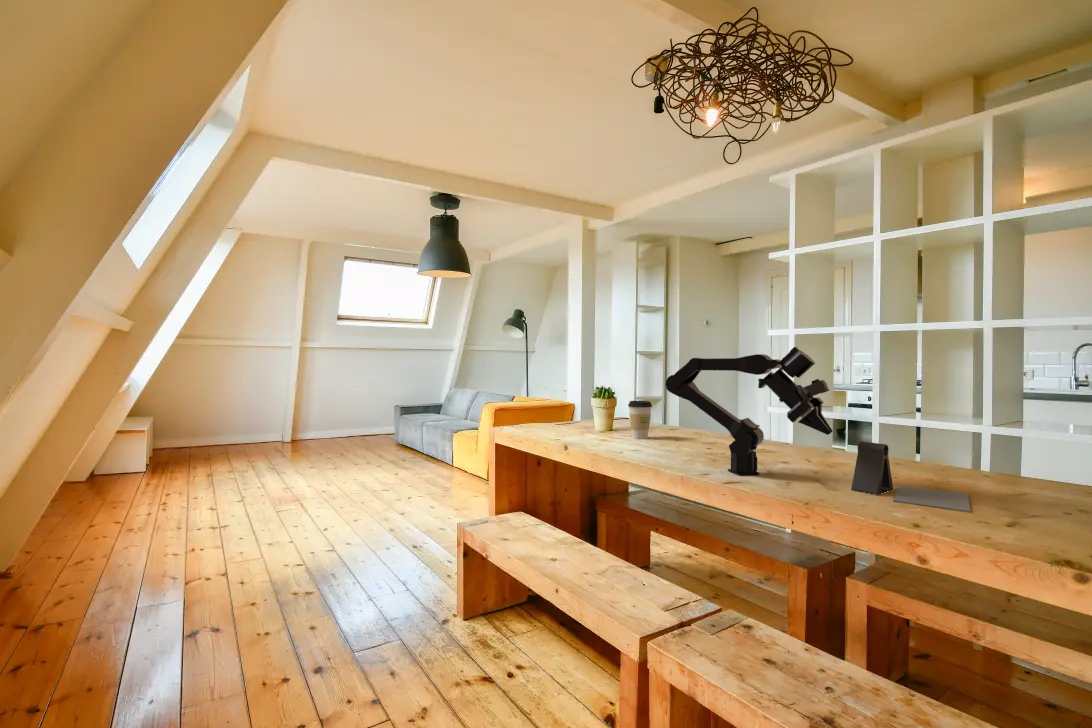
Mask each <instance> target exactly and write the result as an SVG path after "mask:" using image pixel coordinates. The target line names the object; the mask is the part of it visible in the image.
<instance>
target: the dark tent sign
mask: <svg viewBox="0 0 1092 728" xmlns="http://www.w3.org/2000/svg"><path fill="white" fill-rule="evenodd" d="M889 451H890V450H889V445H888V444H887V443H885V444H884V443H878V442H871V441H869V442H868V441H859V442H858V443H857V456H856V462H855V468H854V473H853V478H852V483H851V491H853V490H854V492H858V491H859V493H863V492H865V493H864V494H868V493H870V494H869V495H873V494H876V495H875V496H879V495H878V494H880V495H882V494H881V493H884V492H887V491H890V492H892V491H891V490H893V491H894V484H893V479H892V477H893V476H892V471H891V464H890V459H889ZM887 493H888V492H887ZM884 494H885V493H884Z"/></svg>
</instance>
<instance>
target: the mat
mask: <svg viewBox="0 0 1092 728" xmlns="http://www.w3.org/2000/svg"><path fill="white" fill-rule="evenodd" d="M893 502H895V503H902V504H908V503H909V505H915V506H917V505H918V506H923V507H930V508H938V509H944V510H950V511H958V512H965V513H966V512H967V513H971V506H970V500H969V494H968V493H963V492H956V491H947V490H941V489H940V490H939V489H932V488H926V487H925V488H924V487H917V486H908V485H899V484H898V487H897V490H896V492H895V494H894V498H893Z"/></svg>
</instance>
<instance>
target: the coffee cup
mask: <svg viewBox="0 0 1092 728" xmlns="http://www.w3.org/2000/svg"><path fill="white" fill-rule="evenodd" d="M627 406H628V410H629V422H630V424H629V425H630V430H631V437H632V439H634V438H635V439H634V440H646V439H648V437H649V429H650V423H651V415H652V414H651V413H652V412H651V410H652V407H653V405H652V403H651V401H650V400H630V401H629V402H628V404H627Z"/></svg>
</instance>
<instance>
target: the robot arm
mask: <svg viewBox="0 0 1092 728" xmlns="http://www.w3.org/2000/svg"><path fill="white" fill-rule="evenodd" d="M815 365H816V362H815V361H814V359H813V358H811V357H810V356H809V355H808V354H806V353H805V352H803V351H802V350H801V349H799V347H796V346H794V347H792V348H791V349H790V350H789V352H788V353H787V354H785V356H783V357H782V358H781V359H780V358H779V359H777V358H776V359H774V358H773V359H772V358H771V357H770V355H768V354H765V353H764V354H762V353H760V354H758V353H757V354H752V355H745V356H741V357H734V358H731V357H729V358H728V357H727V358H726V357H724V358H722V357H721V358H702V357H693V358H691V359H690V360H688V361H687V363H686V364H685V365H683V366H682V367H681V368H680V369H678V370H677V371H676V372H675V373H674V374H671V375H670V376H668V377H667V378H666V379H665V389H666V390H667V391H668V392H669V393H671V394H673V395H675V396H677V397H679V398H682V399H684V400H687V401H688V402H690V403H692V404H693V405H694V406H696V407H697V408H698V409H699V410H701V411H703V412H704V413H705V414H706V415H708V416H709V417H710V418H712V419H713V420H714V421H715V422H717V423H718V424H720V425H721V426H722V427H723V428H725V429H726V430H727V431H728V432H729V434H730V435H731V437H732V438H733V439H734V440H733V441H732V442H731V443H730V444H728V448H729V450H730V468H727V471H728V472H731V473H733V474H736V475H739V476H753V475H760V472H759V471H758V457H757V452H756V450H757V448H758V446H759V445H761V444H762V443H763V441H764V438H765V436H764V432H763V430H762V429H761V428H760V427H761V425H760V424H757V423H755V422H754V421H753V420H752V419H751V418H749V417H746V418H743V419H741V418H738V417H736V416H735V415H734V414H732V413H731V412H729V411H728V410H727V409H725V408H724V407H723V406H722V405H720V404H718V403H717V402H715V401H714V400H713V399H712V398H710V397H709V396H707V395H706V394H705V393H704V392H702V391H701V390H700V389H699V388H698V387H697V385H696V384H695V382H694V381H695V379H696V378H697V377H698V375H699V374H700V373H701V372H702V371H728V372H729V371H735V372H741V373H746V374H751V375H758V376H759V375H765V377H763V378H758V384H757V385H758V386H757V387H758V389H764V388H765V387H766V386H767V387H768V388H769V390H771V392H772V393H774V394H775V396H776V397H778V398H779V399H778V400H779V402H780V403H783V404H785V405H786V406H787V407H788V408H789V409H790V410H789V411H787V413H786V416H787V419H788V420H789V421H790V422H791V423H796V421H797V420H798V419H799V418H800V419H799V420H798V421H797V423H799V424H803V425H804V426H805V427H809V428H811V429H814V430H815V431H818V432H820V433H823V435H824V434H825V435H827V436H828V435H831V434H832V433H833V429H832V427H831V426H830V425H829V422H828V421H827V420H826V417H824V414H823V413H822V412H823V404H824V403H825V402H824V401H823V399H821V398H820V397H818V396H817V395H819V394H823V393H827V392H830V389H829V386H828V383H827V382H826V381H825V379H823V380H822V379H819V378H816V379H814V380H811V384H809V385H806V386H802V385H801V384H797V383H796V382H794V380H792V379H793V378H795V377H796V378H801V377H802V376H803V375H804V374H805V373H807V371H809V370H810V369H811V368H812V367H813V366H815ZM774 369H777V370H776V371H775V372H773V371H772V370H774ZM766 374H767V375H766ZM791 378H792V379H791ZM816 396H817V397H816Z"/></svg>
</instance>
